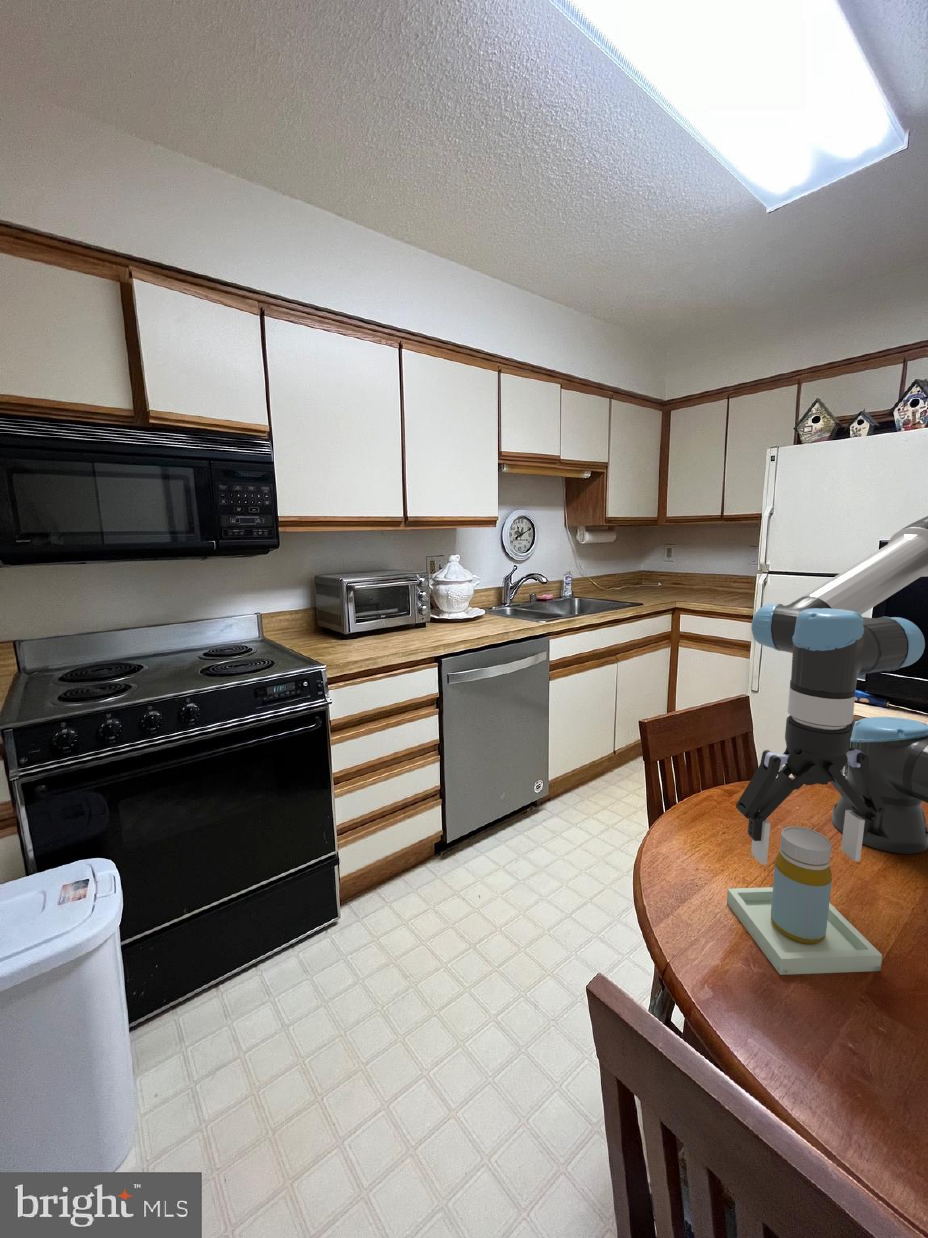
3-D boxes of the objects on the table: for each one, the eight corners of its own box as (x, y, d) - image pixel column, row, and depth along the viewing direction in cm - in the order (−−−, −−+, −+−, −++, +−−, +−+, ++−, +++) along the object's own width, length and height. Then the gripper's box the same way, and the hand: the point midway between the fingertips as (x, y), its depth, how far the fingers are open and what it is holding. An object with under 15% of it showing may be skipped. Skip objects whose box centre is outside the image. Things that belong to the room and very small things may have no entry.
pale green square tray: (810, 899, 85) (812, 885, 85) (880, 971, 71) (882, 955, 71) (726, 902, 85) (727, 888, 84) (779, 975, 71) (781, 959, 71)
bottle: (834, 950, 74) (844, 855, 71) (780, 943, 75) (788, 849, 73) (812, 915, 81) (821, 827, 78) (763, 909, 82) (770, 822, 79)
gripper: (884, 708, 76) (868, 839, 80) (716, 713, 76) (708, 844, 79) (930, 727, 69) (910, 871, 72) (745, 732, 68) (734, 877, 72)
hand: (804, 857), depth 76 cm, fingers open, 13 cm apart
